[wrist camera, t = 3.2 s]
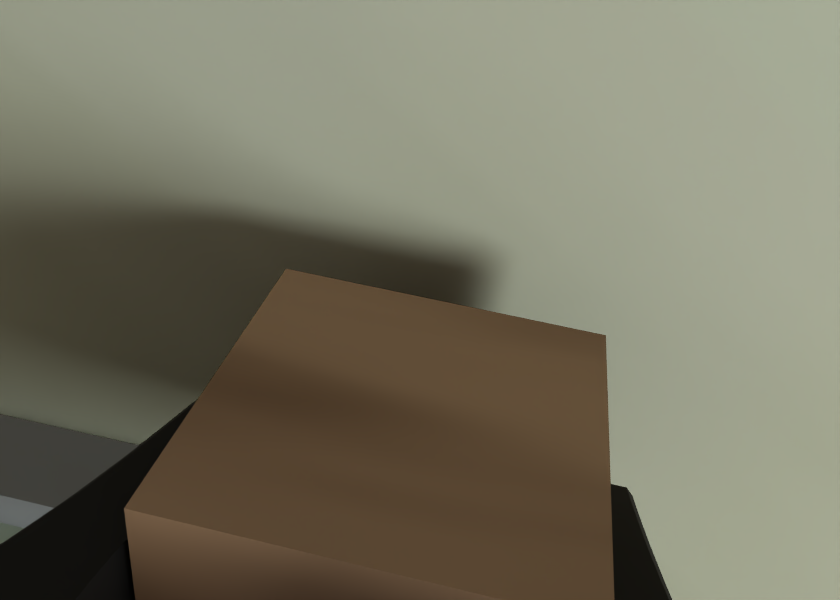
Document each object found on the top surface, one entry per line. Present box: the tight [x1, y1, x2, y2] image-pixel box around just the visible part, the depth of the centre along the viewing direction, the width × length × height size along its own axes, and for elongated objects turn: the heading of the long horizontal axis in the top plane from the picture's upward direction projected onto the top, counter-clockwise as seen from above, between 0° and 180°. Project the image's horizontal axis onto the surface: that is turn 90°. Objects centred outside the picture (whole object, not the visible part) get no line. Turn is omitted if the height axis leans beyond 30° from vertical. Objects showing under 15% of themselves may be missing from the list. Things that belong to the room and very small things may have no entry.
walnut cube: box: [124, 269, 614, 600], centre depth 10 cm, size 4×4×4 cm
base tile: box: [0, 414, 139, 528], centre depth 18 cm, size 8×8×2 cm
